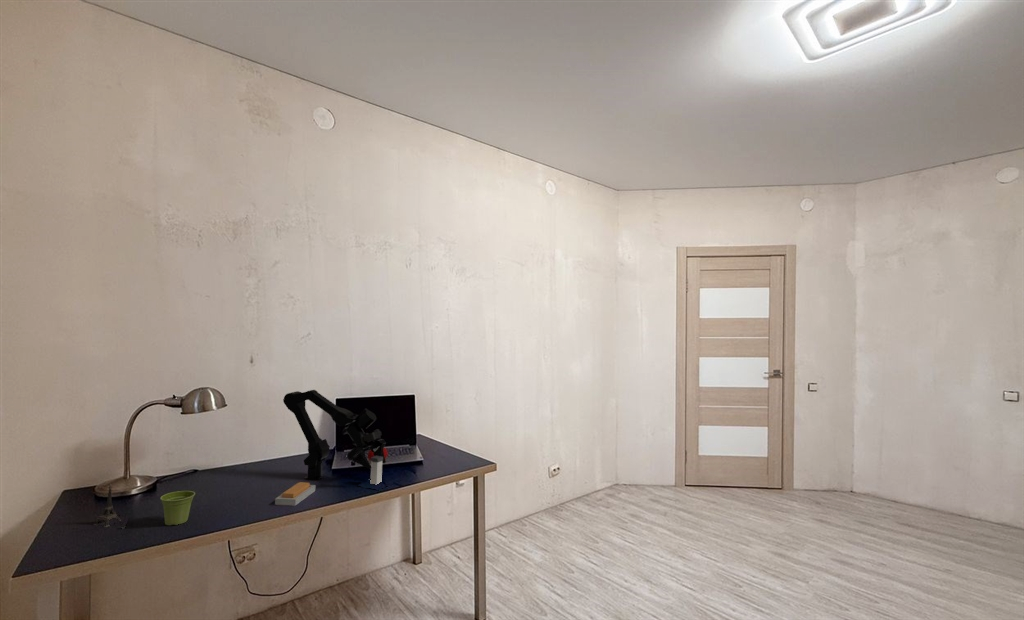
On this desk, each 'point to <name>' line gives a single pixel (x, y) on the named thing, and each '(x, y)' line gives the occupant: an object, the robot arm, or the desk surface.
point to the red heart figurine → (374, 455)
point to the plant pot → (177, 506)
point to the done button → (295, 490)
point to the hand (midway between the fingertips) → (377, 465)
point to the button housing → (297, 499)
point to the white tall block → (376, 470)
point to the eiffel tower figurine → (108, 512)
